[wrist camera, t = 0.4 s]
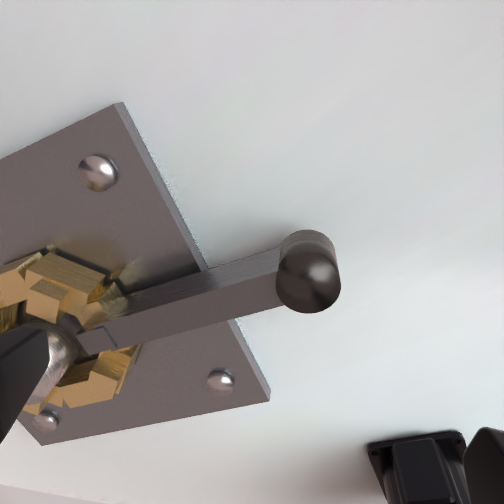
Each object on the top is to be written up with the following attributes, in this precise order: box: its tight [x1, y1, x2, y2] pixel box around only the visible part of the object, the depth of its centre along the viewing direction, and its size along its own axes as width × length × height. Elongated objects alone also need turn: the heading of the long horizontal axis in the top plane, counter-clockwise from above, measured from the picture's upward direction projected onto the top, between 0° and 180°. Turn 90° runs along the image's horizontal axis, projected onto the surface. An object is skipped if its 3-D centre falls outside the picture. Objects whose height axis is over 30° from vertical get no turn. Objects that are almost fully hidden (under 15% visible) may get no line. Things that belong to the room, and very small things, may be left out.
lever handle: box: [0, 230, 341, 416], centre depth 20 cm, size 10×22×4 cm, turn 113°
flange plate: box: [0, 102, 271, 446], centre depth 22 cm, size 20×20×6 cm
